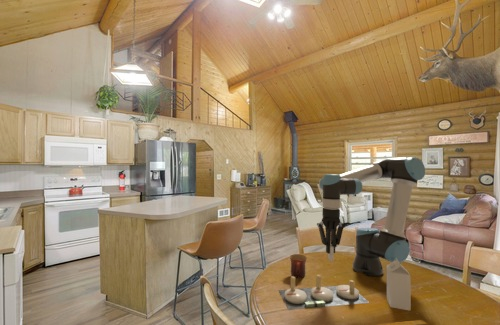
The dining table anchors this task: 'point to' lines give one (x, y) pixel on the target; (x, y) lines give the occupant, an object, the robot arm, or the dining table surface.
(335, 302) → the base plate
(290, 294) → the knob
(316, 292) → the knob middle
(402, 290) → the milk carton
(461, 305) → the dining table surface
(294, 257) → the mug
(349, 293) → the knob
